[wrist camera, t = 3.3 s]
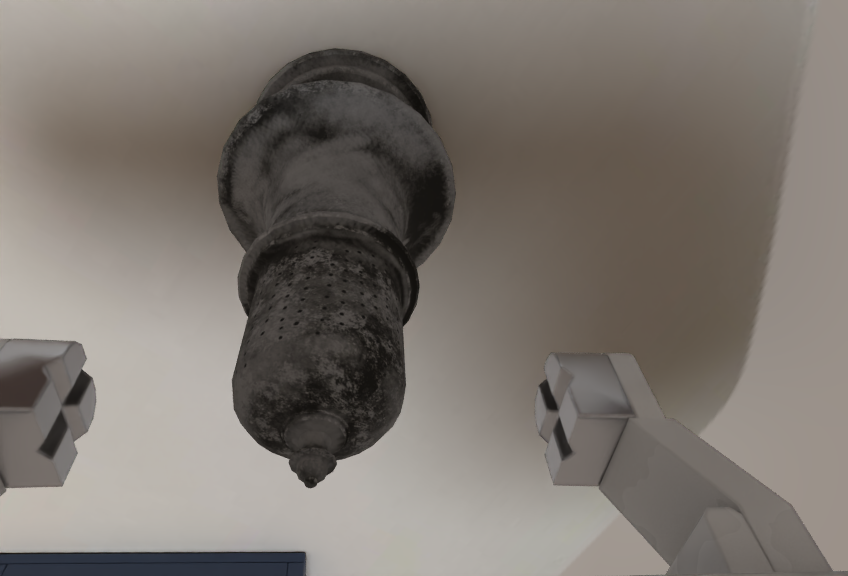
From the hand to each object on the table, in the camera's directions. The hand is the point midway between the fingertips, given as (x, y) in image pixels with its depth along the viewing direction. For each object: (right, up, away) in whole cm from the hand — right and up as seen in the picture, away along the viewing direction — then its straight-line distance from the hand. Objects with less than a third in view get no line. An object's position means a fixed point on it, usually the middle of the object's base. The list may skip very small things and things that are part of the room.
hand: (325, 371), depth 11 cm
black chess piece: (-1, +6, +7) cm, 10 cm away
